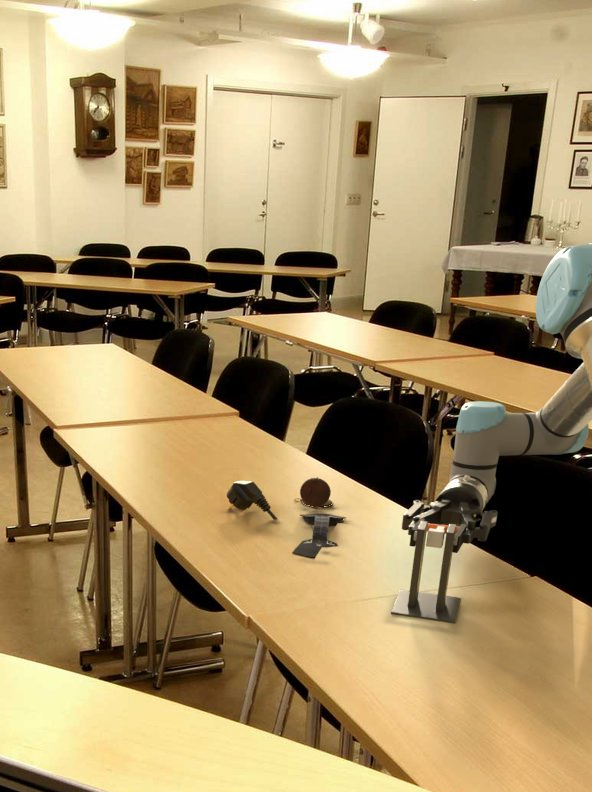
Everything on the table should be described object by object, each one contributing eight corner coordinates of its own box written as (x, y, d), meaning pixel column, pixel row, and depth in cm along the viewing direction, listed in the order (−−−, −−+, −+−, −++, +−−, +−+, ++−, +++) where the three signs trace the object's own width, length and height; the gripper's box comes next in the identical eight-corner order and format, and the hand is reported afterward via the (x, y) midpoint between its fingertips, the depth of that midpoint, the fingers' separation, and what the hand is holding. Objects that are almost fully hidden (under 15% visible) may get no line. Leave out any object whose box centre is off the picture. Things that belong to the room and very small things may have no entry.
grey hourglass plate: (291, 558, 164) (292, 540, 162) (300, 515, 185) (301, 499, 184) (343, 562, 161) (345, 544, 160) (346, 517, 183) (347, 501, 182)
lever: (422, 533, 147) (424, 519, 147) (458, 537, 145) (461, 523, 144) (413, 545, 136) (416, 529, 135) (453, 549, 133) (455, 533, 133)
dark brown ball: (334, 502, 194) (337, 469, 191) (327, 514, 187) (330, 479, 185) (296, 499, 197) (299, 466, 194) (289, 510, 191) (291, 476, 188)
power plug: (269, 520, 182) (232, 476, 186) (250, 543, 187) (215, 501, 192) (286, 513, 185) (250, 471, 189) (267, 536, 190) (233, 495, 195)
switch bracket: (399, 596, 146) (409, 514, 141) (459, 604, 142) (472, 520, 137) (390, 619, 138) (400, 532, 133) (453, 628, 134) (467, 540, 129)
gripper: (408, 475, 163) (375, 510, 144) (522, 488, 153) (503, 527, 135) (403, 515, 165) (370, 554, 147) (515, 530, 156) (495, 574, 138)
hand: (434, 541), depth 141 cm, fingers closed on lever, 6 cm apart
